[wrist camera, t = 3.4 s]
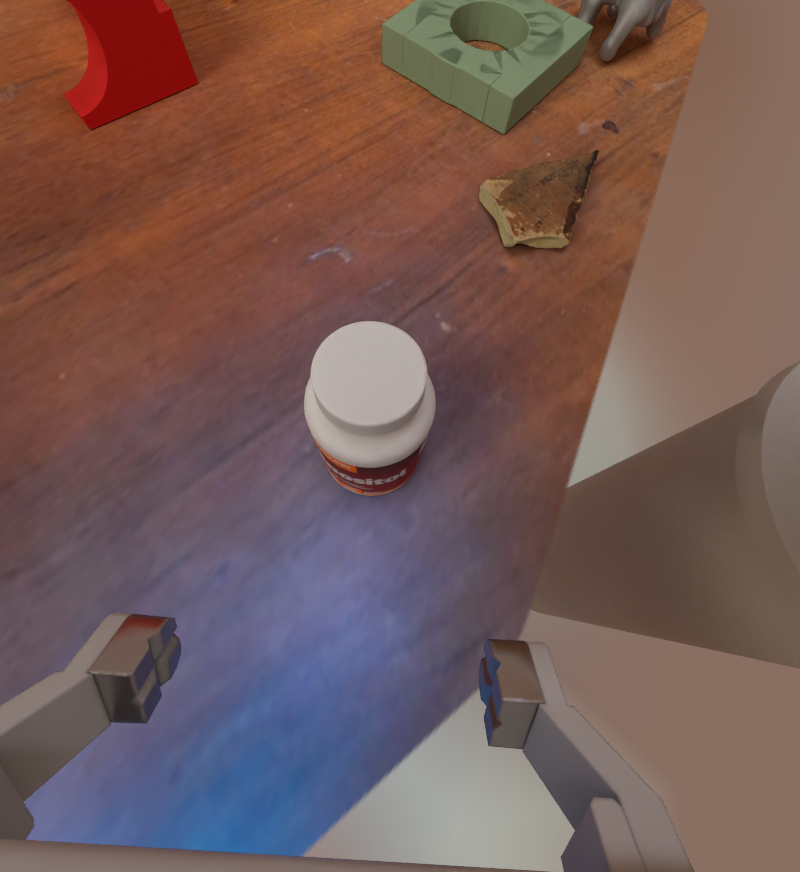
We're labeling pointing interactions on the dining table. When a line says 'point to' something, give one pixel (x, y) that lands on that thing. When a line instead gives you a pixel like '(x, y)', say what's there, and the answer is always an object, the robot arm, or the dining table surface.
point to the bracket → (128, 58)
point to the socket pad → (485, 53)
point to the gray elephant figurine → (625, 19)
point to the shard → (539, 201)
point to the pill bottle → (370, 406)
